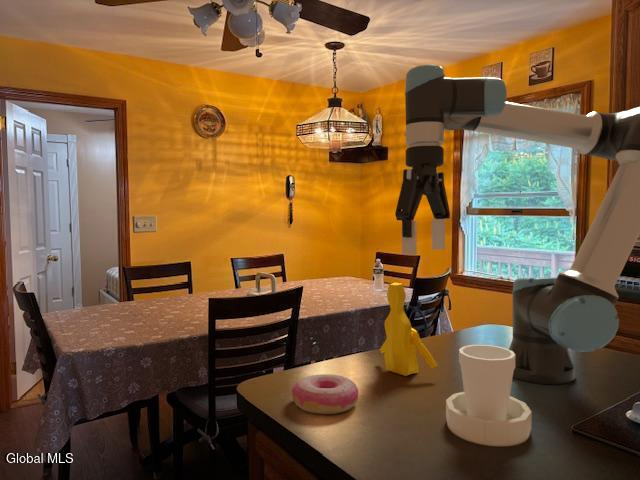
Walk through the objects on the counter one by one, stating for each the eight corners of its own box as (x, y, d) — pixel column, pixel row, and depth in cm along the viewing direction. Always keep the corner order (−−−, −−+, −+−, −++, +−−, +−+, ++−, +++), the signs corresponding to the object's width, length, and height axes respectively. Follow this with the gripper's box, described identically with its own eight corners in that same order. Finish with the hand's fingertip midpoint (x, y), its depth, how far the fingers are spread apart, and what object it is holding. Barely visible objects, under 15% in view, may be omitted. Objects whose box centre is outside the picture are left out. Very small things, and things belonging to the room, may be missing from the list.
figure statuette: (442, 378, 111) (442, 284, 109) (421, 386, 106) (421, 288, 104) (386, 360, 124) (385, 277, 123) (364, 367, 119) (364, 280, 118)
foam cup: (519, 437, 80) (520, 361, 79) (462, 433, 81) (462, 359, 81) (507, 413, 89) (508, 345, 88) (456, 410, 91) (456, 343, 90)
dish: (517, 412, 91) (517, 392, 91) (540, 448, 77) (541, 424, 77) (442, 409, 93) (442, 389, 93) (452, 444, 79) (452, 421, 79)
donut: (368, 414, 92) (368, 389, 92) (302, 424, 88) (301, 398, 88) (345, 389, 105) (345, 367, 105) (286, 397, 101) (286, 374, 101)
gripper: (433, 153, 108) (433, 246, 109) (376, 142, 88) (377, 256, 89) (465, 150, 103) (465, 248, 104) (413, 137, 83) (413, 258, 85)
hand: (424, 251), depth 97 cm, fingers open, 13 cm apart
